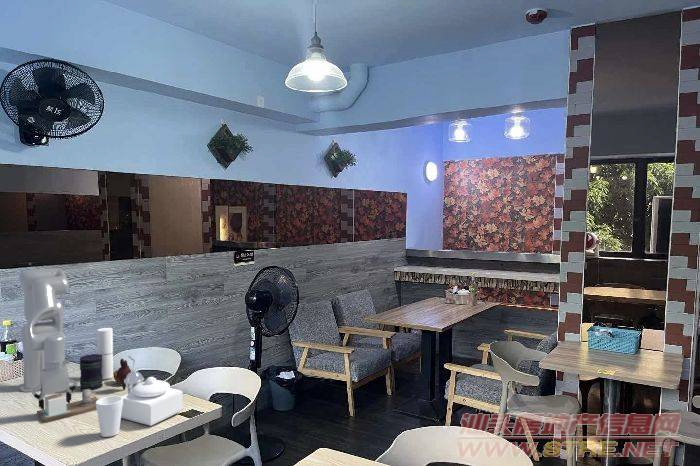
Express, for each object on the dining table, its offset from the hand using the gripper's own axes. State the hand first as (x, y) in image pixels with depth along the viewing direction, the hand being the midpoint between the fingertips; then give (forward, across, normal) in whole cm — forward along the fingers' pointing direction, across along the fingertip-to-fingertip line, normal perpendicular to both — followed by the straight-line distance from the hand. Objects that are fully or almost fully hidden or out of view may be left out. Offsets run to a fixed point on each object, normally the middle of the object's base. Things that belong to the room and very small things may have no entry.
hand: (55, 405), depth 204 cm
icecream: (+4, -32, -10) cm, 33 cm away
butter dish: (+5, -30, +26) cm, 40 cm away
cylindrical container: (+4, -32, -36) cm, 48 cm away
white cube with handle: (+3, 0, 0) cm, 3 cm away
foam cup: (+4, -11, +33) cm, 35 cm away
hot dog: (+4, -34, -22) cm, 41 cm away
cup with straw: (+4, -30, +8) cm, 31 cm away
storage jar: (+4, -22, -25) cm, 33 cm away
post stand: (+4, -6, 0) cm, 7 cm away
